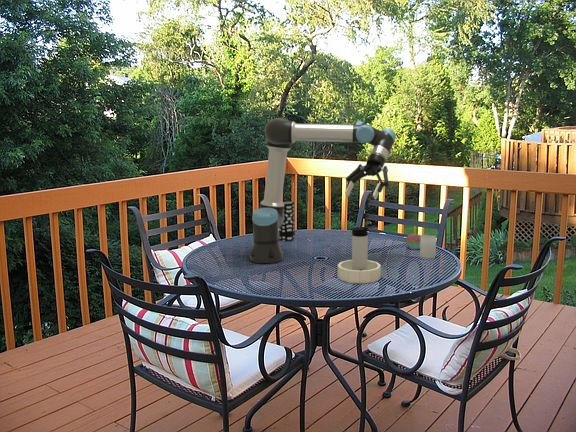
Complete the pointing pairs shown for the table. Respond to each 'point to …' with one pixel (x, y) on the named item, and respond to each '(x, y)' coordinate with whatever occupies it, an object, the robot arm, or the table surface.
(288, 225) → the white-spotted black cylinder
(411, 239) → the cupcake
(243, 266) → the table surface
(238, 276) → the table surface
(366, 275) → the bowl
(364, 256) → the travel mug
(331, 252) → the table surface
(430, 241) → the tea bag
